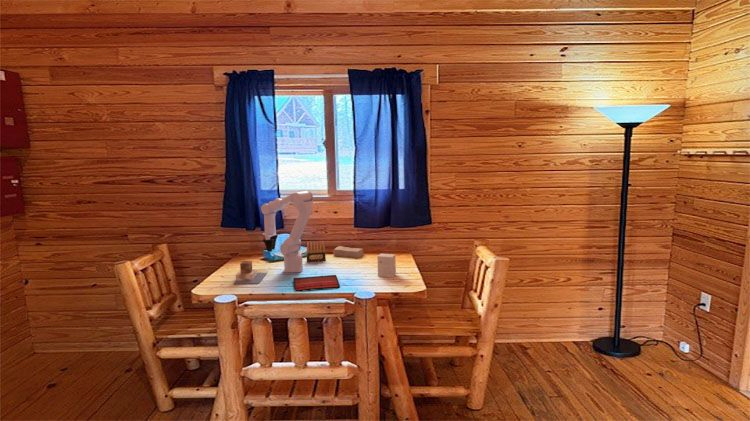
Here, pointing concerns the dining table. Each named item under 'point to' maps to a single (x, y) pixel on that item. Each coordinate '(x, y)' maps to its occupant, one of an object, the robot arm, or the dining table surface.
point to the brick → (348, 252)
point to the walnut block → (246, 267)
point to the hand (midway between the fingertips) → (271, 249)
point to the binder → (316, 282)
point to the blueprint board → (255, 281)
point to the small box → (386, 265)
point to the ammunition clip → (316, 252)
